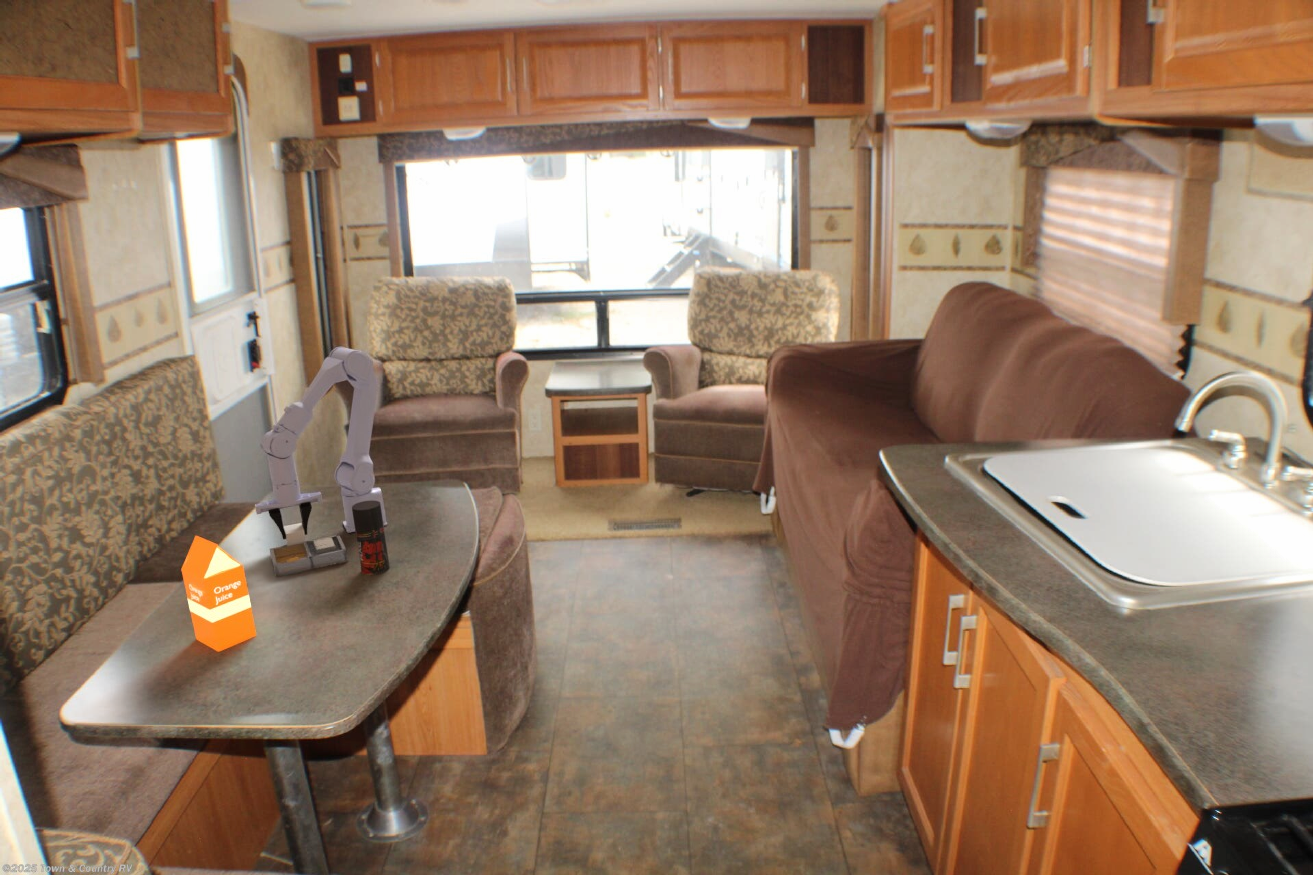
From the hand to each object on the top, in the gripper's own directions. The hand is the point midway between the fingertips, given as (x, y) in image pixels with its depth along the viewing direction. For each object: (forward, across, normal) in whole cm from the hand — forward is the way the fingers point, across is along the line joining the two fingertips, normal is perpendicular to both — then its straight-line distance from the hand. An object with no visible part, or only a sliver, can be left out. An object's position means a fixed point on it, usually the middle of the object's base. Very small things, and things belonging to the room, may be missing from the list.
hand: (294, 535), depth 223 cm
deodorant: (+3, -14, +25) cm, 29 cm away
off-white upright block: (+2, 0, 0) cm, 2 cm away
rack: (+3, -2, +12) cm, 12 cm away
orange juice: (+3, +17, +42) cm, 45 cm away
